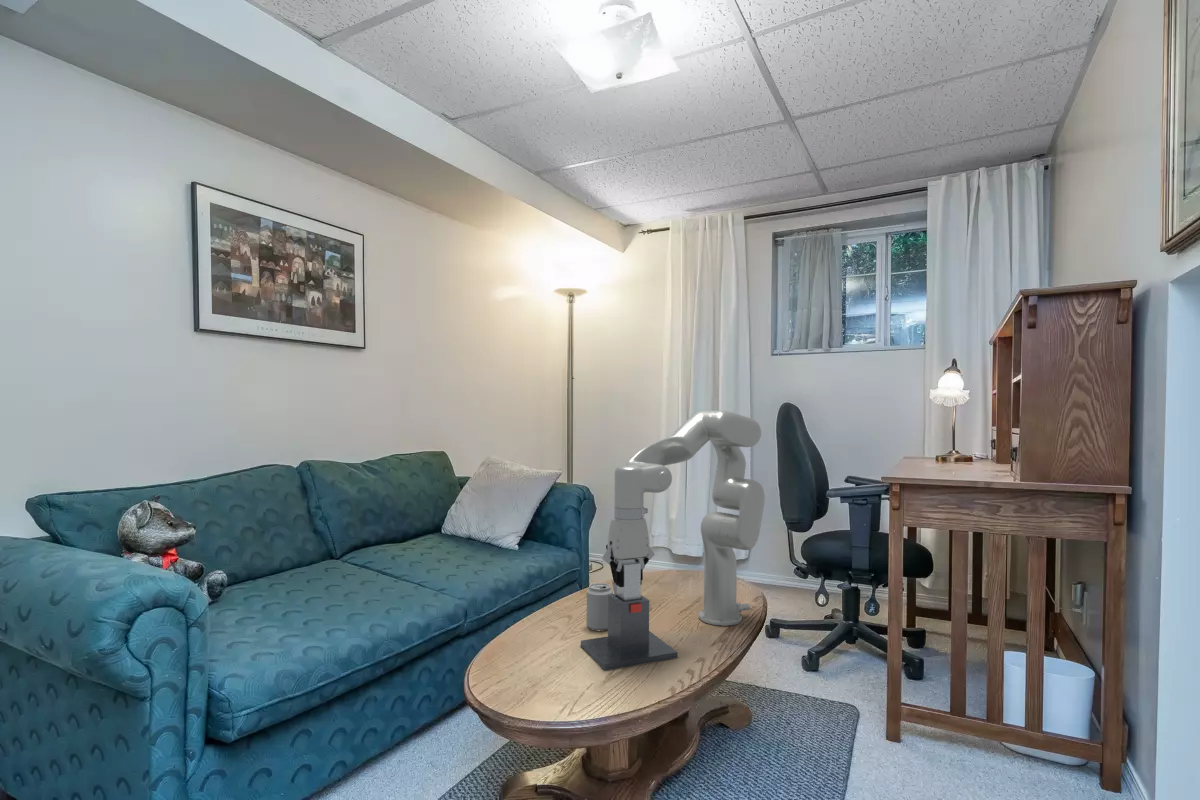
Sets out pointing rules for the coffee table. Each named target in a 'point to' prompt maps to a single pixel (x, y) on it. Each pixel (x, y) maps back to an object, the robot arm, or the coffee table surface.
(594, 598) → the can
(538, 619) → the coffee table surface
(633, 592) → the column
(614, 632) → the stand housing
